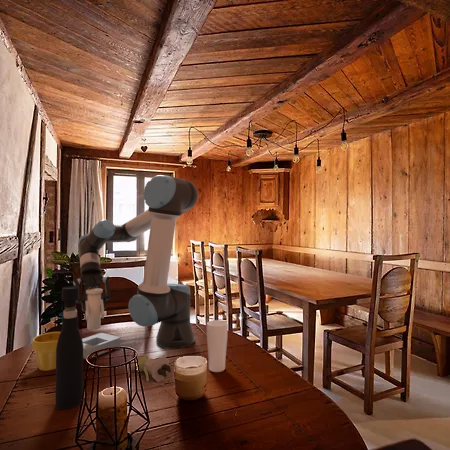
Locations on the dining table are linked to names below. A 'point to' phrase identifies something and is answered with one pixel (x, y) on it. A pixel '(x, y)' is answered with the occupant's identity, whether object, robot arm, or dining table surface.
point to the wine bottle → (69, 355)
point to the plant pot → (46, 350)
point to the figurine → (153, 366)
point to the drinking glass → (216, 344)
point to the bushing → (94, 308)
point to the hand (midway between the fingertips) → (95, 317)
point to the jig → (99, 343)
